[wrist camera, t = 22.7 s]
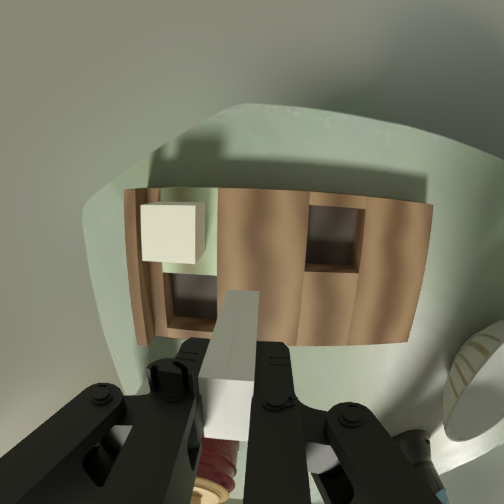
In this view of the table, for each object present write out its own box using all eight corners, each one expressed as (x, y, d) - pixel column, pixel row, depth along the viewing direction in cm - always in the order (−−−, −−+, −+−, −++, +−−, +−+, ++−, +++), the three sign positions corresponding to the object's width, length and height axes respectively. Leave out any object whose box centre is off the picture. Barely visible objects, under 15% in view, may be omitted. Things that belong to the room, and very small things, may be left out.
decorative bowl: (424, 322, 40) (462, 361, 28) (521, 278, 37) (559, 298, 25) (414, 422, 46) (434, 460, 34) (501, 376, 43) (526, 403, 31)
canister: (205, 405, 45) (185, 484, 28) (253, 439, 47) (249, 513, 30) (163, 428, 48) (138, 494, 30) (209, 458, 50) (196, 522, 32)
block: (205, 202, 33) (195, 205, 28) (204, 252, 34) (195, 264, 29) (157, 201, 33) (140, 205, 28) (158, 249, 34) (142, 260, 29)
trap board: (419, 202, 35) (445, 207, 28) (397, 329, 40) (415, 352, 33) (147, 187, 36) (124, 189, 30) (154, 321, 41) (137, 344, 34)
